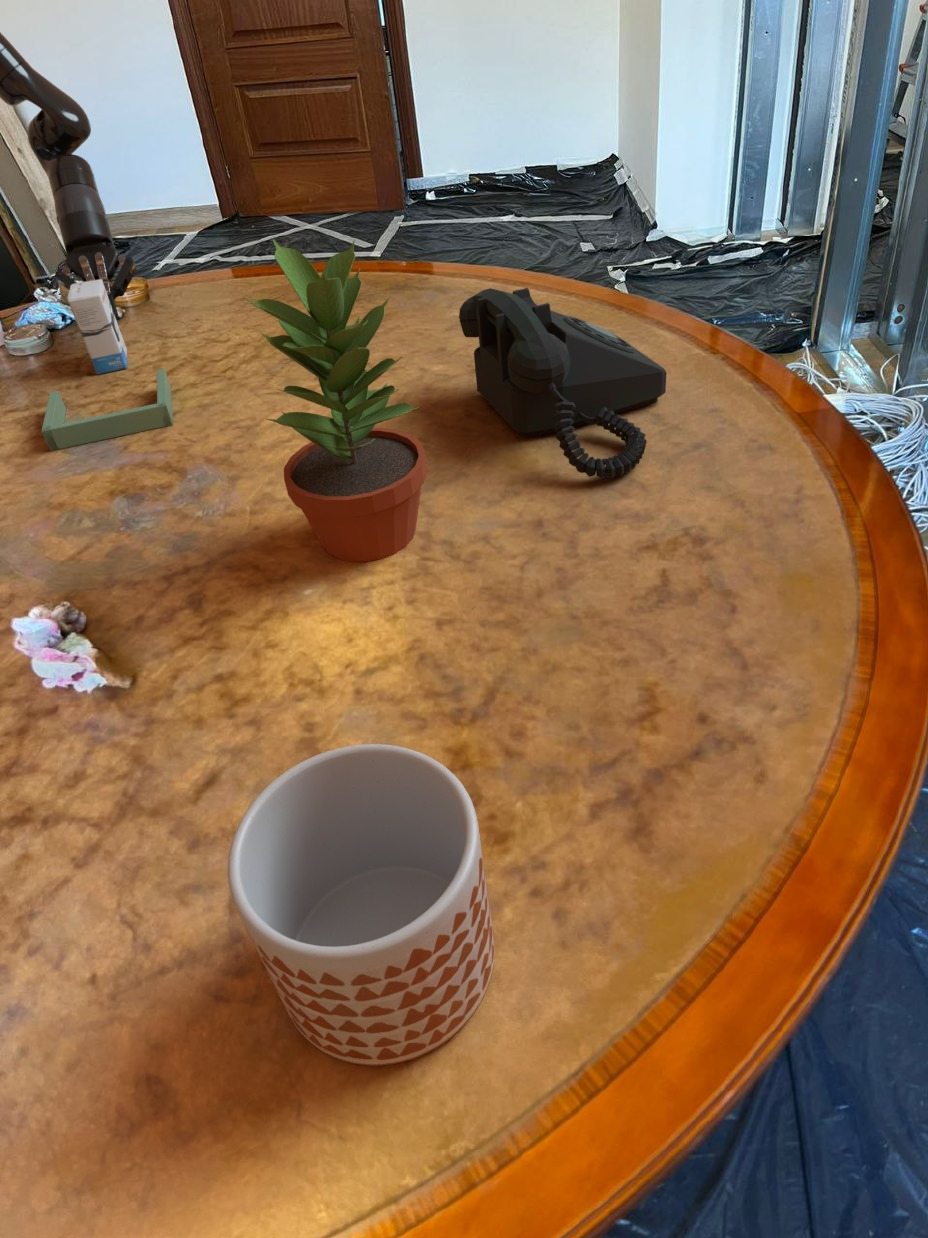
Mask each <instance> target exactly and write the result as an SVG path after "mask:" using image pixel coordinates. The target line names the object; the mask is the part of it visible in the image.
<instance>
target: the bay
mask: <svg viewBox="0 0 928 1238" xmlns="http://www.w3.org/2000/svg"><path fill="white" fill-rule="evenodd" d="M156 400H157V401H156V403H153V404H147V405H144V406H138V407H134V408H129V409H124V410H119V411H114V412H109V413H106V414H101V415H96V416H91V417H85V418H81V419H77V420H71V421H67V422H65V418H66V414H67V407H66V405H65V402H64V401H63V398H62V396H61V393H60V390H54V391H50V392H49V394H48V400H47V403H46V409H45V413H44V417H43V423H42V427H41V431H40V432H41V433H42V436H43V438H44V440H45V442H46V445H47V447H48V450H49V451H50V452H53V451H58V450H62V449H67V448H72V447H76V446H81V445H87V444H90V443H94V442H99V441H104V440H109V439H114V438H118V437H123V436H127V435H132V434H136V433H140V432H146V431H149V430H150V431H151V430H155V429H160V428H164V427H170V426H173V425H174V419H173V418H174V417H173V416H174V415H173V397H172V386H171V383H170V380H169V377H168V374H167V371H166V369H165V368H162V369H161V368H160V369H157V370H156Z"/></svg>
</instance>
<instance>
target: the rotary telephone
mask: <svg viewBox="0 0 928 1238" xmlns="http://www.w3.org/2000/svg"><path fill="white" fill-rule="evenodd" d="M530 292H531V291H530V288H528V287H525V288H521V289H515V290H513V291H512V293H511V292H508V291H503V290H499V289H495V288H485V289H483V290H481V291H479V292H478V293H475V294H474V295H472V296H471V297H468V298H467V299H466V300H465V301H464V302H462V305H461V306H460V307H459V311H458V313H459V315H458V320H459V324H460V327H461V331H462V334H463V336H464V337H465V338H478V346H477V348H475V349H474V350H473V356H474V357H473V359H474V370H475V381H476V390H477V392H478V393H479V394H480V395H481V396H482V397H483V399H484V400H486V401H487V403H488V404H489V405H490V406H491V407H492V408H493V409H494V410H495V411H496V413H497V414H499V416H500V417H501V418H502V419H503V420H504V421H505V422H506V424H508V425H509V426H510V427H511V428H512V430H514V431H515V432H516V433H517V434H518V435H521V436H523V437H536V436H537V437H538V436H543V435H548V434H549V435H550V434H554V433H556V435H555V440H557V441H558V442H559V446H558V447H559V448H560V449H561V450H562V451H563V456H564V457H565V458H566V459H568V463H569V465H571V466H572V467H574V468H575V469H576V471H577V472H578V473H581V474H585V475H586V476H588V478H589V477H590V478H591V477H594V476H596V477H597V478H599V479H603V478H605V477H607V478H609V479H613V478H614V477H615V476H616V477H622V476H623V475H624V473H630V472H631V469H636V465H637V464H640V461H641V459H642V458H643V455H644V454H645V450H646V446H647V439H645V437H646V433H644V432H642V431H641V427H637V426H635V423H634V422H629V420H628V419H627V418H622V416H621V414H622V413H625V412H628V411H631V410H635V409H638V408H641V407H644V406H648V405H651V404H654V403H657V402H658V401H659V400H658V399H659V398H660V397H661V396H664V394H666V391H667V390H666V388H667V370H666V368H664V367H663V366H661V365H660V364H658V363H657V362H655V361H654V360H653V359H651V358H650V357H648V355H645V354H644V353H643V352H641V351H640V350H638V349H637V348H635V347H634V346H633V345H632V344H630V343H629V342H628V341H626V340H625V339H622V338H621V337H620V336H619V335H617V334H614V333H613V332H610V331H608V330H607V329H605V328H603V327H600V326H598V325H596V324H594V323H591V322H588V321H586V320H583V319H582V318H581V319H580V318H577V317H575V316H571V315H565V314H562V313H559V312H557V311H554V310H551V304H550V303H549V302H546V303H541V304H536V303H535V301H534V299H533V298H532V296H531V293H530ZM586 424H596V426H598V427H602V428H603V429H604V430H607V431H609V433H610V434H614V435H615V437H616V438H620V440H621V441H624V444H625V445H624V446H623V449H621V450H620V452H619V453H617V455H613V457H608V458H602V459H601V458H599V457H596V458H595V457H594V456H590V454H589V453H588V452H585V451H586V449H585V448H584V447H581V445H582V442H581V441H579V440H577V438H578V434H577V433H575V430H576V427H580V426H583V425H586Z"/></svg>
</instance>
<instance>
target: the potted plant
mask: <svg viewBox="0 0 928 1238" xmlns="http://www.w3.org/2000/svg"><path fill="white" fill-rule="evenodd" d="M271 240H272V242H273V245H274V248H275V251H274V253H273V254H274V259H275V261H276V263H277V265H278V266H279V267H280V269H281V271H282V272H283V274H284V276H285V277H286V279H287V280H288V282H289V283H290V285H291V287H292V288H293V290H294V292H295V293H296V295H297V296H298V298H299V300H300V302H301V303H302V305H303V306H304V308H305V309H306V311H307V313H308V314H307V313H305V312H303V311H301V310H299V309H298V308H296V307H295V306H291V305H290V304H288V303H284V302H282V301H279V300H275V299H271V298H262V299H259V300H255V301H254V300H251V299H248V298H247V297H243V299H244V300H246V301H247V302H249V303H250V304H252V305H253V306H255V307H256V308H258V309H259V310H261V311H263V312H265V313H267V314H269V315H270V316H271V317H274V318H276V319H278V323H279V325H280V327H281V328H282V329H283V330H284V331H285V333H286V334H287V335H286V334H281V335H276V336H271V337H270V336H268V335H267V334H265V333H262V332H259V334H261V335H262V336H263V337H264V338H265V339H266V340H267V341H268V343H269V345H271V346H272V347H274V348H276V349H277V350H278V351H280V353H282V354H283V355H285V356H286V357H288V358H289V359H291V360H292V361H294V362H295V363H296V364H297V365H299V366H301V367H302V368H304V369H305V370H307V371H308V372H309V373H311V374H312V375H314V376H315V377H317V379H318V383H319V386H320V390H321V392H322V393H320V392H317V391H314V390H312V389H309V388H306V387H302V386H298V385H287V386H285V387H284V388H283V390H282V389H279V388H276V390H278V391H280V392H282V393H286V394H289V395H291V396H294V397H297V398H299V399H302V400H304V401H308V402H311V403H313V404H316V405H319V406H321V407H324V408H326V409H329V410H330V413H331V416H332V417H329V416H326V415H322V414H317V413H312V412H307V411H306V412H305V411H290V412H289V411H288V412H283V411H281V413H282V414H281V415H280V416H279V417H278V418H277V419H275V418H274V419H273V418H266V420H268V421H271V422H274V423H276V424H279V425H281V426H285V427H290V428H292V429H293V430H295V432H297V433H298V434H300V435H301V436H303V437H304V438H306V439H307V440H309V441H310V442H309V443H307V444H305V445H303V446H301V447H300V448H299V449H298V450H297V451H295V453H293V454H292V455H291V456H290V457H289V459H288V460H287V462H286V464H285V466H284V467H283V481H284V484H285V488H286V492H287V495H288V497H289V499H290V501H291V502H292V503H293V504H294V505H295V506H296V507H297V508H299V509H300V510H301V512H302V513H303V515H304V517H305V518H306V520H307V521H308V523H309V524H310V527H311V528H312V530H313V531H314V533H315V535H316V536H317V538H318V540H319V542H320V544H321V545H322V547H323V548H324V550H325V551H326V552H327V554H328V555H331V556H332V557H334V558H336V559H338V560H341V561H346V562H350V563H352V562H353V563H354V562H355V563H366V562H367V563H368V562H372V561H377V560H378V561H379V560H381V559H384V558H387V557H390V556H393V555H395V554H397V553H398V552H400V551H402V550H403V549H404V548H406V547H407V546H408V545H409V544H410V543H411V541H413V539H414V536H415V534H416V529H417V523H418V516H419V509H420V508H419V507H420V501H421V494H422V488H423V487H422V486H423V485H424V484H425V481H426V478H427V476H428V473H429V471H428V464H427V456H426V452H425V449H424V445H423V443H422V442H420V440H418V439H417V438H416V437H415V436H414V435H412V434H409V433H406V432H404V431H401V430H399V429H393V428H387V427H386V428H385V427H375V426H376V425H377V424H380V423H383V422H386V421H389V420H392V419H394V418H399V417H402V416H403V415H407V414H408V413H410V412H413V411H415V410H417V409H420V408H421V406H417V407H413V406H412V405H411V404H410V403H408V402H400V403H395V404H391V405H389V406H388V403H389V401H390V399H391V395H393V394H395V393H396V392H397V391H399V390H400V389H398V388H397V389H396V386H394V385H393V384H391V385H388V381H387V382H386V383H385V384H384V385H383V386H382V387H381V388H377V389H371V390H369V386H370V385H372V384H373V383H374V382H375V381H376V380H377V379H378V378H380V377H381V376H382V375H384V374H385V373H386V372H387V371H388V370H389V369H391V368H392V367H393V366H394V365H395V364H396V363H397V362H399V361H400V360H401V359H402V358H403V356H400V357H399V358H397V360H395V359H394V358H391V357H390V358H385V359H383V360H381V361H379V362H378V363H377V364H376V365H374V366H373V367H372V368H370V369H369V370H366V369H367V368H366V367H367V365H368V363H369V358H370V355H371V352H370V349H369V348H367V347H368V345H369V344H370V342H371V341H372V339H373V338H374V337H375V335H376V333H377V332H378V330H379V328H380V326H381V324H382V323H383V320H384V318H385V312H386V305H387V304H388V302H389V300H390V299H391V296H389V297H388V298H387V299H386V300H385V301H384V302H383V304H381V305H377V306H374V307H373V308H372V309H370V310H369V311H368V312H367V314H366V315H365V316H364V317H363V318H362V319H361V320H360V315H358V316H357V319H356V320H355V322H354V323H353V324H350V325H348V322H349V320H350V317H351V315H352V311H353V310H354V306H355V304H356V301H357V299H358V296H359V293H360V291H361V288H362V281H361V279H360V271H361V268H360V267H359V269H358V270H357V272H356V273H355V275H354V276H353V277H350V274H351V271H352V267H353V265H354V262H355V259H356V253H355V251H354V250H355V249H354V248H355V242H356V241H355V239H354V240H353V242H352V243H351V245H350V247H349V249H348V250H344V251H340V252H338V253H336V254H334V255H332V256H331V257H330V258H329V260H328V261H327V263H326V264H325V266H324V269H323V272H321V276H320V274H319V273H318V271H317V269H316V268H315V266H314V265H313V264H312V263H311V261H310V260H309V259H308V258H307V257H306V256H305V255H304V254H303V253H302V252H301V251H299V250H297V249H295V248H291V247H283V246H281V245H279V244H278V242H277V241H276V240H275V239H274V238H273V237H271Z"/></svg>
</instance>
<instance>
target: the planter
mask: <svg viewBox="0 0 928 1238" xmlns="http://www.w3.org/2000/svg"><path fill="white" fill-rule="evenodd" d="M485 870H486V869H485V862H484V856H483V848H482V842H481V836H480V827H479V822H478V816H477V813H476V809H475V806H474V804H473V801H472V799H471V797H470V794H469V793H468V791H467V789H466V788H465V786H464V785H463V783H462V782H461V781H460V780H459V778H458V777H457V776H456V775H455V774H454V773H453V772H452V771H451V770H450V769H448V768H447V767H446V766H445V765H443V764H442V763H440V762H439V761H437V760H436V759H434V758H432V757H431V756H429V755H426V754H425V753H422V752H419V751H417V750H414V749H410V748H407V747H404V746H399V745H391V744H381V743H380V744H379V743H365V744H363V743H362V744H355V745H348V746H343V747H337V748H334V749H330V750H327V751H324V752H322V753H319V754H316V755H314V756H312V757H309V758H307V759H305V760H303V761H301V762H299V763H297V764H295V765H293V766H292V767H291V768H289V769H287V770H286V771H285V772H283V773H282V774H281V775H279V776H277V777H276V778H275V779H273V780H272V782H270V783H269V784H268V785H267V786H266V787H265V788H263V790H262V791H261V792H260V793H259V794H258V795H257V797H256V798H255V799H253V801H252V803H251V804H250V805H249V807H248V808H247V809H246V811H245V813H244V814H243V816H242V818H241V819H240V821H239V823H238V825H237V827H236V830H235V832H234V834H233V838H232V840H231V844H230V848H229V853H228V860H227V882H228V889H229V892H230V895H231V899H232V902H233V904H234V906H235V909H236V911H237V913H238V915H239V917H240V920H241V922H242V924H243V926H244V927H245V930H246V932H247V934H248V936H249V938H250V940H251V941H252V944H253V946H254V948H255V950H256V952H257V954H258V956H259V959H260V960H261V962H262V964H263V966H264V968H265V970H266V972H267V974H268V976H269V978H270V981H271V983H272V985H273V987H274V988H275V991H276V993H277V995H278V997H279V999H280V1001H281V1003H282V1004H283V1007H284V1009H285V1011H286V1013H287V1015H288V1016H289V1018H290V1020H291V1022H292V1023H293V1025H294V1027H295V1028H296V1029H297V1031H299V1033H300V1034H301V1035H302V1036H303V1037H304V1038H305V1039H306V1040H307V1042H309V1043H310V1044H311V1045H312V1046H314V1047H315V1048H317V1049H318V1050H319V1051H321V1052H323V1053H324V1054H326V1055H328V1056H330V1057H332V1058H334V1059H337V1060H339V1061H342V1062H346V1063H349V1064H353V1065H358V1066H359V1065H360V1066H371V1067H376V1066H377V1067H379V1066H391V1065H397V1064H401V1063H404V1062H408V1061H412V1060H415V1059H417V1058H420V1057H422V1056H424V1055H427V1054H428V1053H430V1052H432V1051H434V1050H436V1049H437V1048H439V1047H441V1046H442V1045H444V1044H445V1043H446V1042H447V1041H449V1040H450V1039H452V1038H453V1037H454V1036H455V1035H456V1034H457V1033H458V1032H460V1030H461V1029H462V1028H463V1027H464V1026H465V1025H466V1024H467V1023H468V1021H470V1019H471V1018H472V1017H473V1016H474V1014H475V1013H476V1012H477V1010H478V1009H479V1006H480V1005H481V1003H482V1001H483V1000H484V997H485V995H486V993H487V990H488V988H489V986H490V982H491V979H492V977H493V970H494V965H495V955H496V943H495V933H494V925H493V919H492V911H491V904H490V899H489V898H490V897H489V891H488V890H489V889H488V885H487V883H488V882H487V878H486V877H487V876H486V871H485Z"/></svg>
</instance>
